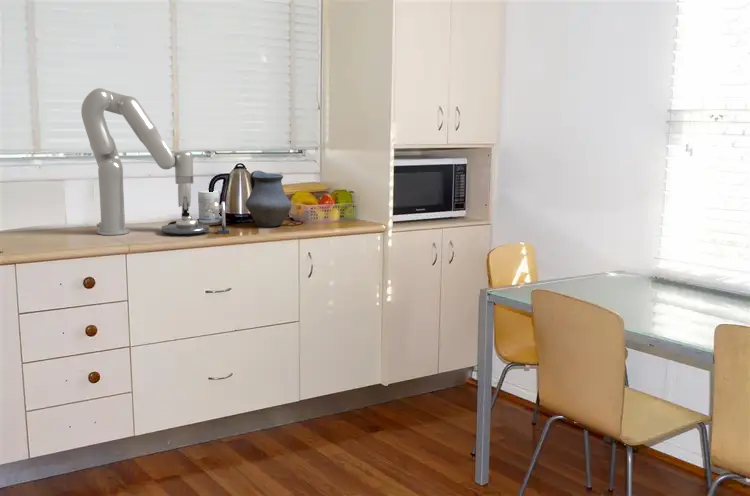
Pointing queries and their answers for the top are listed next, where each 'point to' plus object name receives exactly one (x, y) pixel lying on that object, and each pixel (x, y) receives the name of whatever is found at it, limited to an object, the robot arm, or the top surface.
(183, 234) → the turntable base
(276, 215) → the pitcher
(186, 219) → the cast cover
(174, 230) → the turntable
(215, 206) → the dial indicator
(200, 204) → the supplement tub
